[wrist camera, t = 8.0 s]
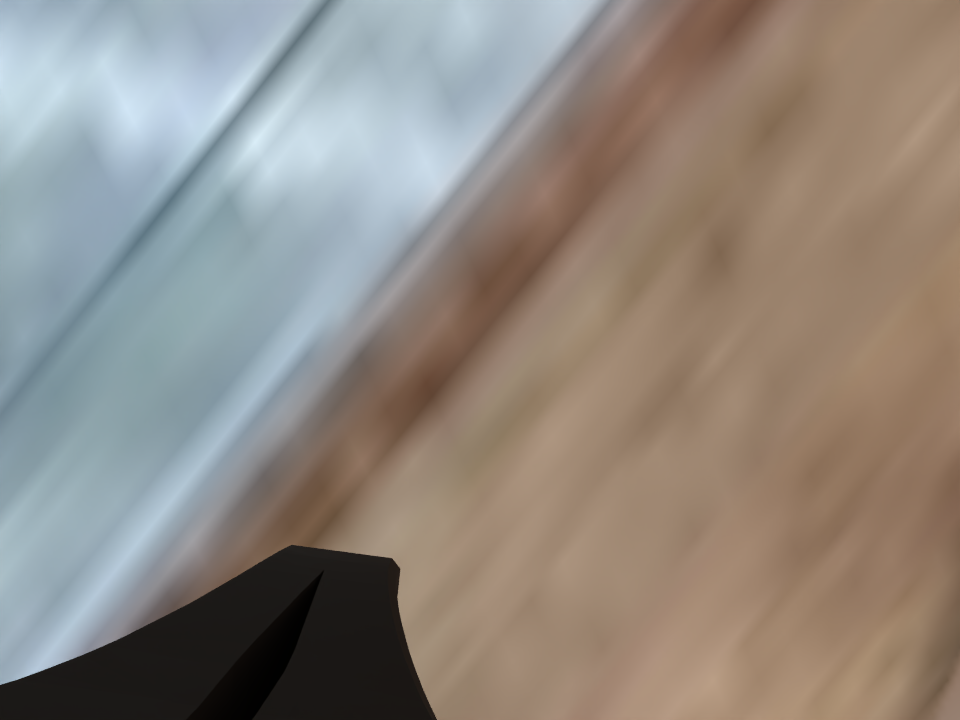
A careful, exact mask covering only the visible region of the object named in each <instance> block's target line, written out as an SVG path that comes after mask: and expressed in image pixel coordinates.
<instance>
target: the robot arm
mask: <svg viewBox="0 0 960 720" xmlns="http://www.w3.org/2000/svg"><path fill="white" fill-rule="evenodd" d="M399 576H400V568H399V567H398V565H397V564H396V563H395V561H394V560H393V559H392V558H385V557H378V556H370V555H363V554H355V553H348V552H341V551H333V550H326V549H318V548H311V547H303V546H296V545H291V546H289V547H287V548H284V549H283V550H281V551H279V552H277V553H275V554H274V555H272V556H270V557H268V558H267V559H265V560H263V561H262V562H260V563H258V564H257V565H255V566H253V567H252V568H250V569H248V570H247V571H245V572H243V573H242V574H240V575H238V576H237V577H235V578H233V579H231V580H230V581H228V582H226V583H224V584H223V585H221V586H219V587H218V588H216V589H214V590H212V591H211V592H209V593H207V594H205V595H204V596H202V597H200V598H199V599H197V600H195V601H193V602H191V603H190V604H188V605H186V606H184V607H182V608H180V609H178V610H176V611H174V612H172V613H170V614H168V615H166V616H164V617H162V618H160V619H158V620H156V621H154V622H152V623H150V624H148V625H146V626H144V627H142V628H140V629H139V630H137V631H135V632H133V633H131V634H129V635H127V636H125V637H123V638H120V639H118V640H116V641H114V642H112V643H109V644H107V645H105V646H103V647H100V648H98V649H96V650H93V651H91V652H89V653H86V654H84V655H82V656H79V657H77V658H74V659H71V660H69V661H66V662H64V663H61V664H58V665H56V666H53V667H51V668H48V669H46V670H43V671H40V672H38V673H35V674H32V675H29V676H27V677H24V678H21V679H18V680H15V681H12V682H9V683H5V684H2V685H0V720H437V719H436V717H435V715H434V713H433V710H432V708H431V706H430V704H429V702H428V700H427V697H426V695H425V693H424V691H423V688H422V685H421V683H420V680H419V678H418V675H417V673H416V670H415V667H414V664H413V661H412V658H411V655H410V652H409V649H408V646H407V642H406V638H405V634H404V631H403V627H402V623H401V618H400V613H399V608H398V600H397V595H398V585H399Z"/></svg>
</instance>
